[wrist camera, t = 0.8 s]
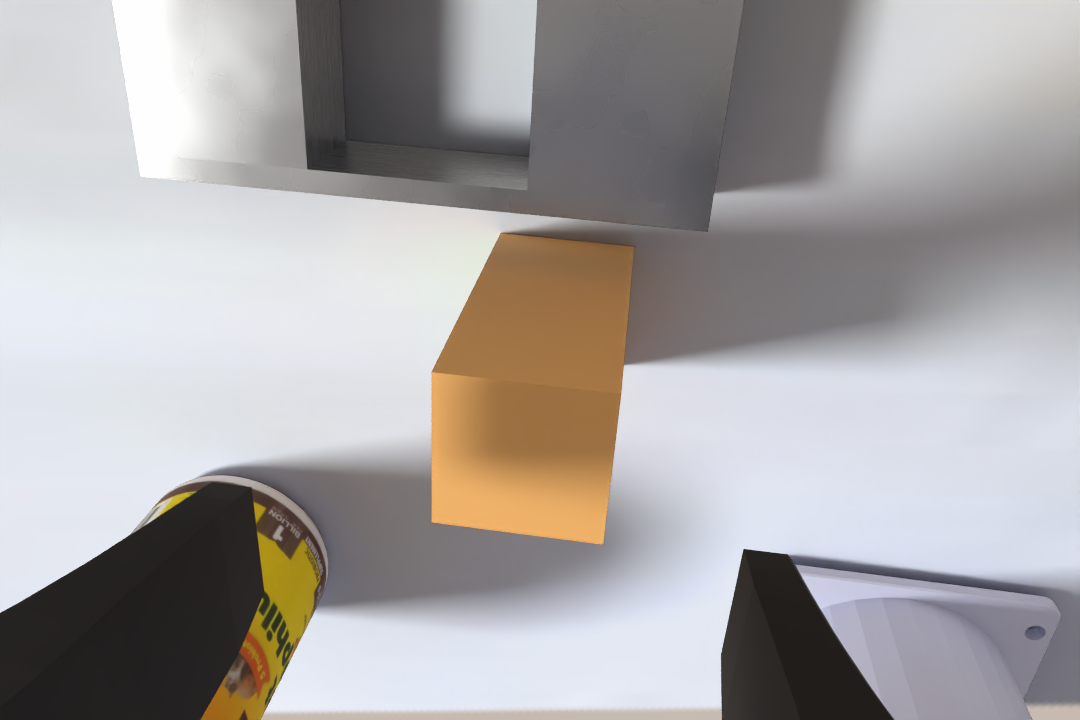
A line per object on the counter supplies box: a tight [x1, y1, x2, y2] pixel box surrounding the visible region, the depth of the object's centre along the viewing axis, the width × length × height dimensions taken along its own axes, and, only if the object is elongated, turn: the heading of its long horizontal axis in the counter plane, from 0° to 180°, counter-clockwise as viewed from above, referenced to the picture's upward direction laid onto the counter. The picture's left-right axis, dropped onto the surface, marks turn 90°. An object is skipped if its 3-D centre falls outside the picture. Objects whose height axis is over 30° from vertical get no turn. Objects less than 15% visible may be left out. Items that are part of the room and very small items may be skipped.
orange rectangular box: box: [432, 233, 634, 545], centre depth 18 cm, size 3×3×7 cm
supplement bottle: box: [130, 475, 328, 720], centre depth 22 cm, size 6×6×10 cm
